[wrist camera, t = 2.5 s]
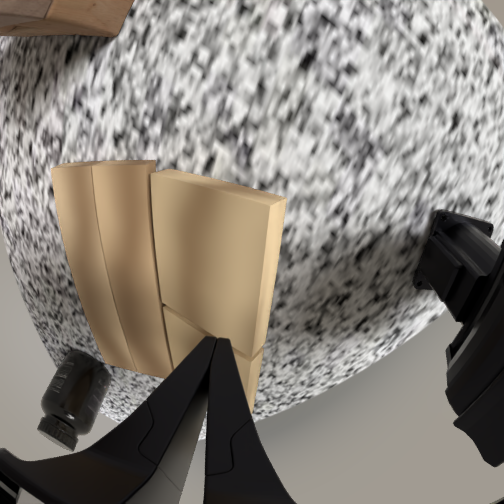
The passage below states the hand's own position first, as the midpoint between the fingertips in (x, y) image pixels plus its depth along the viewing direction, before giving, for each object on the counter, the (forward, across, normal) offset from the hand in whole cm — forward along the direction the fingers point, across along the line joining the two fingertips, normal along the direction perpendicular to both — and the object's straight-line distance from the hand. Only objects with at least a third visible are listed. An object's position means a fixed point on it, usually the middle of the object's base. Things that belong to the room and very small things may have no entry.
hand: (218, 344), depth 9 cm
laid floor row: (+10, +10, +6) cm, 15 cm away
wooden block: (+10, +14, -16) cm, 23 cm away
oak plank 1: (+8, +1, +1) cm, 8 cm away
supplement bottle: (+10, +19, +21) cm, 30 cm away
